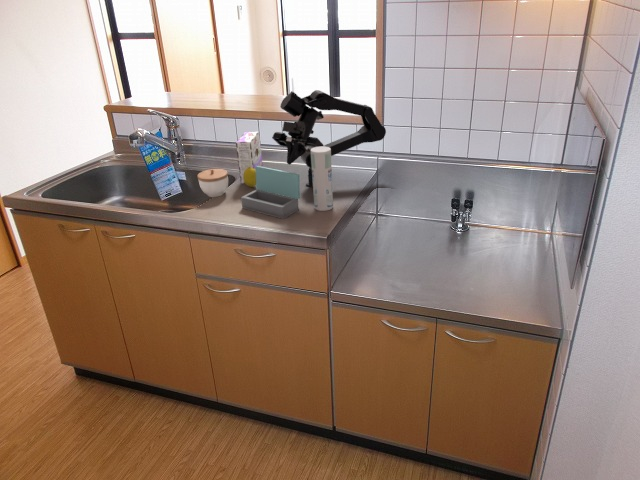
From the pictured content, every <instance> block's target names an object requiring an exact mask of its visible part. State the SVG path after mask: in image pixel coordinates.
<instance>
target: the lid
mask: <svg viewBox="0 0 640 480" xmlns="http://www.w3.org/2000/svg"><path fill="white" fill-rule="evenodd" d="M255 171H256V185H255V187H256V189H258V190H262V191H266V192H270V193H275V194H279V195H283V196H288V197H292V198H296V199H298V200H299V199H301V194H300V193H301V191H300V190H301V188H300V186H301V185H300V184H301V183H300V182H301V181H300V173H295V172H289V171H285V170H280V169H276V168H275V169H274V168H271V167H270V168H269V167H266V166H263V167H261V166H255ZM256 189H255V190H256Z"/></svg>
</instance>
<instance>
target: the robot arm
mask: <svg viewBox="0 0 640 480" xmlns="http://www.w3.org/2000/svg"><path fill="white" fill-rule="evenodd" d="M315 108H316V109H317V110H316V109H315ZM280 109H282V110H283V111H284V112H286V113H287V114H289V115H291V116H292V117H293V118H295V117H298V119H297V121H294V122H291V121H283V125H282V132H280V131H276V132H275V131H274V132H273V135H272V137H271V138H272V140H273V141H275V143H277V145H279V146H280V147H284V148H285V147H286V148H287V152H286V153H287V157H286V164H287V165H292V164H293V163H294V162H295V161H296V160H297V159H299V158H300V159H301V161H302V162H303V163H304V164H305V165H306V166H307V167H308V170H307V173H308V175H307V178H308V179H307V180H308V181H307V183H305V186H307V187H311V188H313V179H312V165H311V149H312V148H314V147H319V146H325V147H329V148H331V157H333V156H335V155H338V154H341V153H343V152H344V151H347V150H349V149H352V148H354V147H357V146H359V145H361V144H365V143H366V144H367V143H375V142H380V141H382V140H384V139H385V136H386V133H387V130H386V127H385V126H384V125H382V123H381V122H380V121H381V120H379V118H378V117H377V116H376V114H375V111H374V110H373V108H372V107H371V106H369V105H367V104H361V103H356V102H352V101H349V100H344V99H340V98H336V97H335V96H332V95H331V94H328V93H326V92H324V91H321V90H317V89H316V90H314V91H312V92H311V93H310V94H309V95H307V96H304V97H300V96H298V94H297V93H296V92H294V91H293V90H292V91H290V92H289V93H288V94H287V95H286V96H285V97H284V98H283V99H282V101H281V103H280ZM318 110H319V111H318ZM323 111H338V112H339V111H340V112H342V113H343V112H344V113H348V114H351V115H356V116H361V122H362V124H363V126H361V127H360V128H359V130H357V131H356V132H354V133H351V134H348V135H346V136H343V137H342V138H339V139H337V140H334V141H332V142H329V143H327V144H323V142H321V140H320V139H319V138H318V137H314V136H310V135H313V134H314V132H315V131H314V130H313V129H314V126H315V124H316V122H317V120H318V121H319V120H322V119H324V115H323ZM285 132H287V134H286V133H285Z"/></svg>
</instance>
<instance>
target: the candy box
mask: <svg viewBox="0 0 640 480" xmlns="http://www.w3.org/2000/svg"><path fill="white" fill-rule="evenodd" d="M260 139H261V138H260V132H259V131H245V132H244V133H243V134H242V135H241V137H239V138H238V139H237V141H236V142H235V146H236V154H237V163H238V170H239V177H240V184H245V182H244V179H243V174H244V171H245V170H246V169H247V168H249V167H251V168H254V169H255V166H261V167H264V164H263V155H262V148H261V140H260Z"/></svg>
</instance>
